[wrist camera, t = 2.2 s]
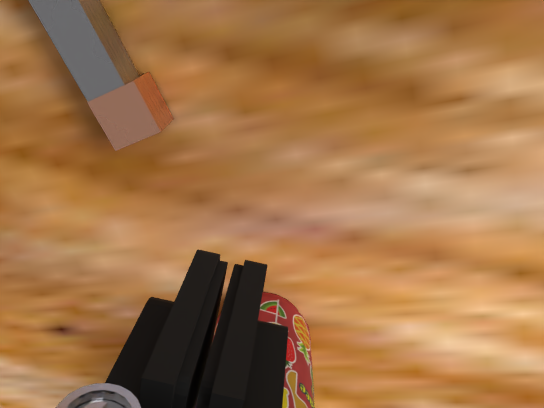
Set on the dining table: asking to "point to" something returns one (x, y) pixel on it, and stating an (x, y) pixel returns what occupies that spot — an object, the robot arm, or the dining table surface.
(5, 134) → the dining table surface
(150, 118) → the tongs moving jaw
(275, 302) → the smoothie
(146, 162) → the dining table surface
